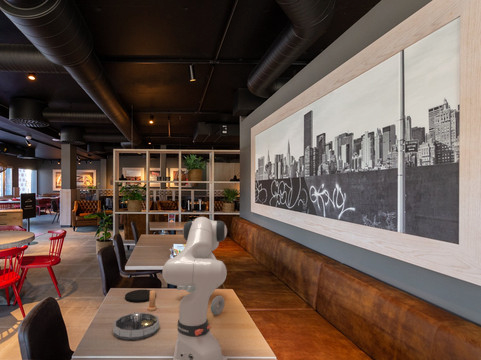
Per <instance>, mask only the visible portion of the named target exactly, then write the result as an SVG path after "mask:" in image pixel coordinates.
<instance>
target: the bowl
mask: <svg viewBox="0 0 481 360" xmlns="http://www.w3.org/2000/svg"><path fill="white" fill-rule="evenodd" d="M159 327H160V319H159V316H157V315H156V314H153V313H149V312H142V311H141V312H140V311H137V312H133V313H131V312H130V313H128V314H125V315H121V316H119V317H118V318H116V319H115V320H114V321H113V330H112V332H113V336H114V338H117V340H122V341H128V342H129V341H139V340H145V339H148V338H150V337H152V336H154V335H155V334H156V333H158V332H159Z"/></svg>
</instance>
